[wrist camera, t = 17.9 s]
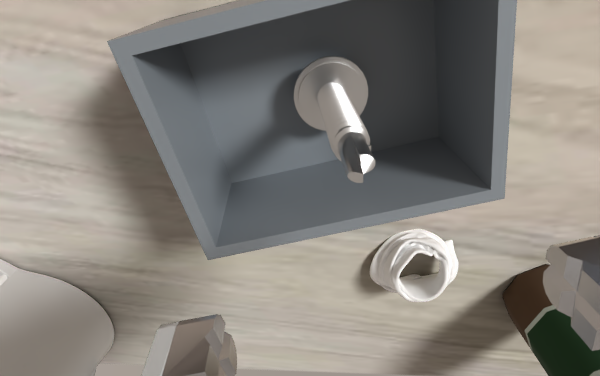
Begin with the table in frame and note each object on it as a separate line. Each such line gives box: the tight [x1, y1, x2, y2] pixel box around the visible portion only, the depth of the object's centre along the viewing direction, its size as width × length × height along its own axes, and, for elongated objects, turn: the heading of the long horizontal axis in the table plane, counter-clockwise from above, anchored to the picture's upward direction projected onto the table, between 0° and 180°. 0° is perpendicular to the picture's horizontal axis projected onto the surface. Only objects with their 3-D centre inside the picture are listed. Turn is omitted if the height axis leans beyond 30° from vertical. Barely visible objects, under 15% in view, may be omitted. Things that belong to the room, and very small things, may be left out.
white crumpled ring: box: [370, 229, 458, 302], centre depth 34 cm, size 8×7×5 cm
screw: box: [294, 56, 375, 183], centre depth 20 cm, size 13×5×5 cm
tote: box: [107, 0, 517, 260], centre depth 23 cm, size 18×13×9 cm
